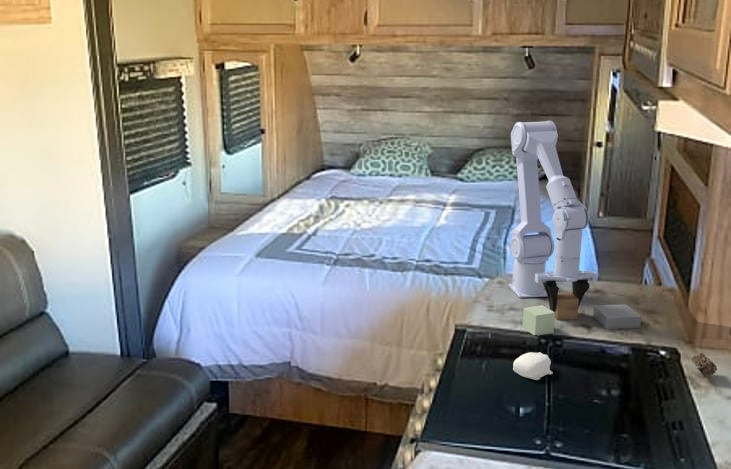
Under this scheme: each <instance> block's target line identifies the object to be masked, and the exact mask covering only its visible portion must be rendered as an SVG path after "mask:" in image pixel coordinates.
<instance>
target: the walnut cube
mask: <svg viewBox="0 0 731 469" xmlns="http://www.w3.org/2000/svg"><path fill="white" fill-rule="evenodd" d="M578 304H579V299H578V298H577V297H576V296H575V295H574V294H573V292H571V291H566V292H565V291H560V292H559V291H558V294H557V301H556V310H555V320H557V321H563V320H578V314H579V313H578V312H579V308H578Z"/></svg>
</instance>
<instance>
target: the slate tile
mask: <svg viewBox="0 0 731 469" xmlns="http://www.w3.org/2000/svg"><path fill="white" fill-rule="evenodd" d="M592 317H594V319H595V320H596V321H598V323H600V325H602V326H603V327H604V328H606V330H610V329H612V330H613V329H614V330H615V329H633V328H634V329H635V328H636V329H637V328H641V324H642V316H641V315H640V314H638V312H636V311H635V310H634V309H633V308H631V307H630V306H628V304H626V303H625V304H602V305H601V304H600V305H593V310H592Z"/></svg>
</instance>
